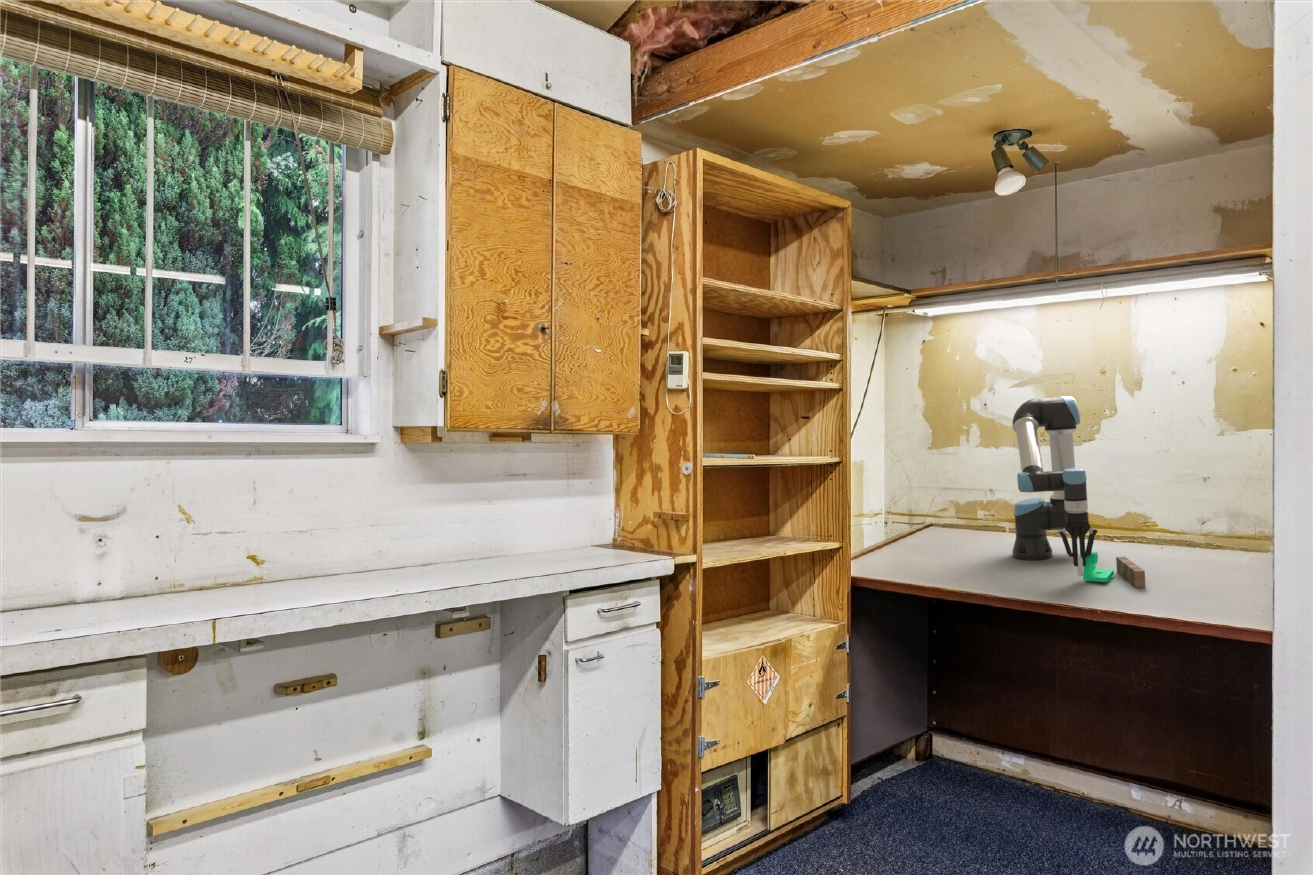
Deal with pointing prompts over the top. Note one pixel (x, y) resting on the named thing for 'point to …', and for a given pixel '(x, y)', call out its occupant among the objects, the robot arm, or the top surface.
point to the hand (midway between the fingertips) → (1080, 574)
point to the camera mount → (1096, 570)
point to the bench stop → (1131, 572)
